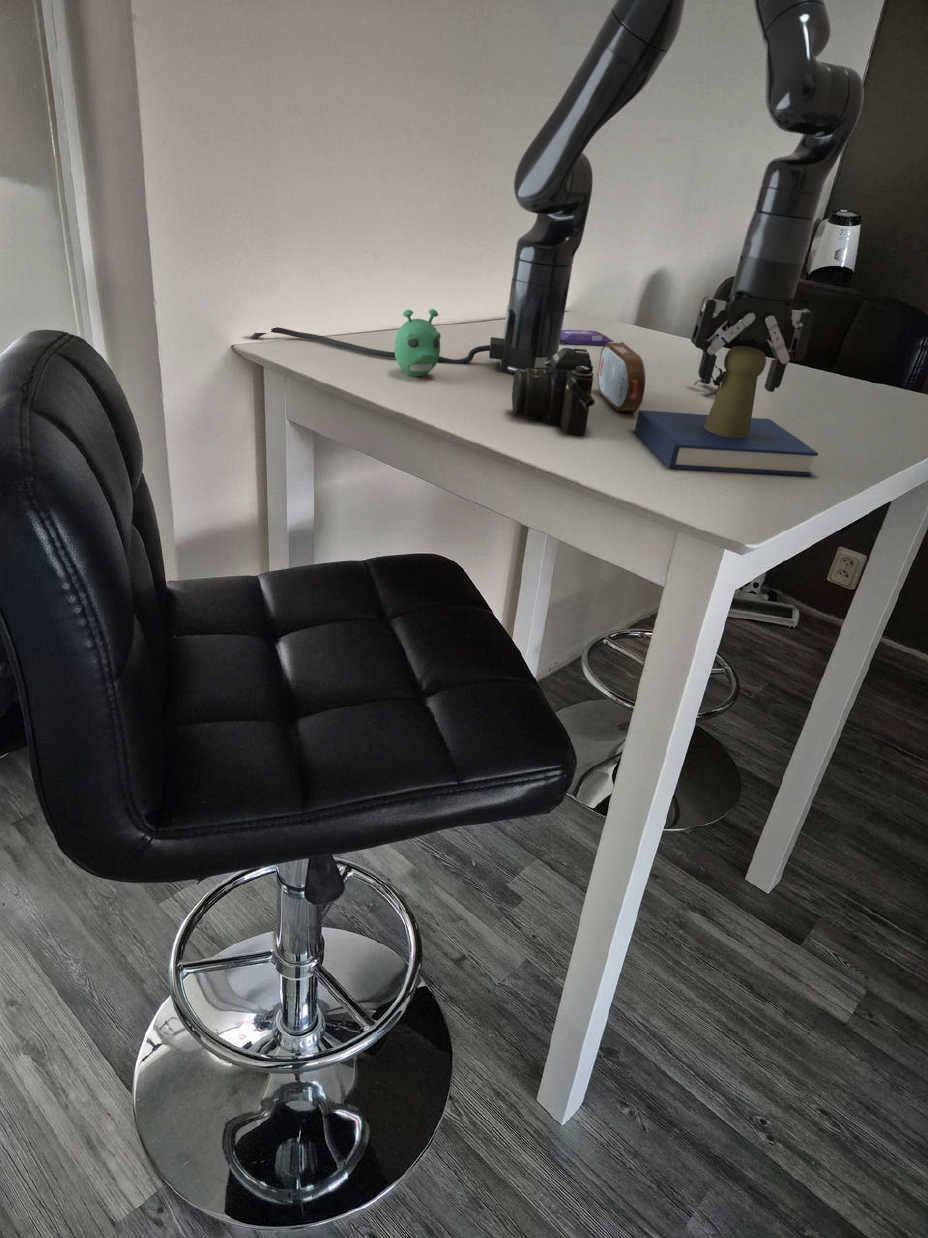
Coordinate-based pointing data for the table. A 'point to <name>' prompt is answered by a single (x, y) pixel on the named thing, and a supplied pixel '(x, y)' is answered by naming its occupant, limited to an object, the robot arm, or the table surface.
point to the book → (722, 445)
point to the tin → (621, 377)
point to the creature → (717, 381)
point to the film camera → (557, 391)
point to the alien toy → (417, 345)
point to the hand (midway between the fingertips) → (736, 386)
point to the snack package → (584, 337)
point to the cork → (736, 393)
